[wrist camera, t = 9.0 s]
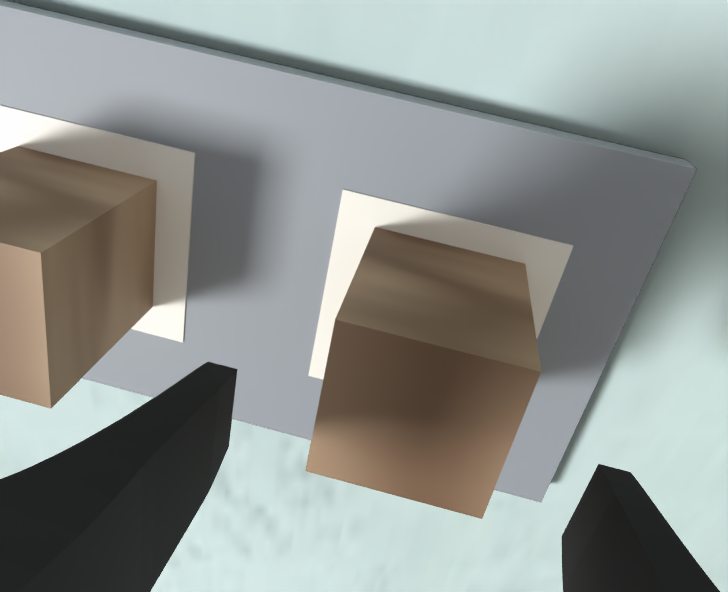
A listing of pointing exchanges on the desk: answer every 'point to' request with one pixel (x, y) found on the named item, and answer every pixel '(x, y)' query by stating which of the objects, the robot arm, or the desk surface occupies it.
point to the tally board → (331, 212)
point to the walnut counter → (427, 373)
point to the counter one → (68, 268)
